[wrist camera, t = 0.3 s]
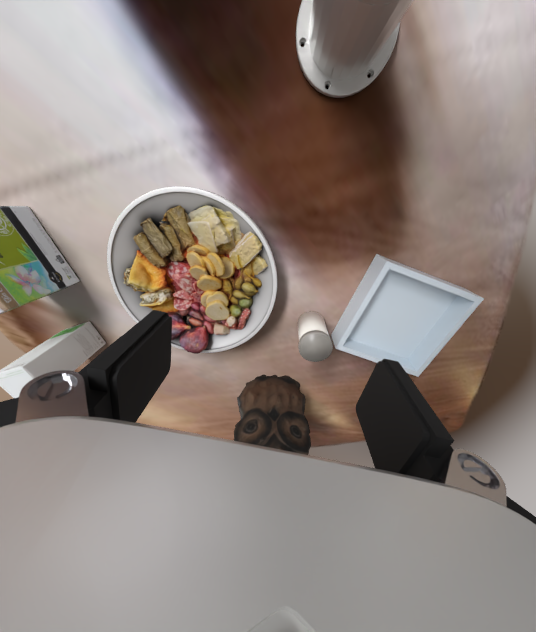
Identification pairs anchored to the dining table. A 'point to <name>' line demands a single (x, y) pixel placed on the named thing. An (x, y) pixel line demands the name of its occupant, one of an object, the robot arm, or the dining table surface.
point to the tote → (402, 315)
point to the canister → (313, 337)
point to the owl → (273, 415)
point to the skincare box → (52, 357)
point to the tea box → (28, 260)
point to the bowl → (193, 267)
